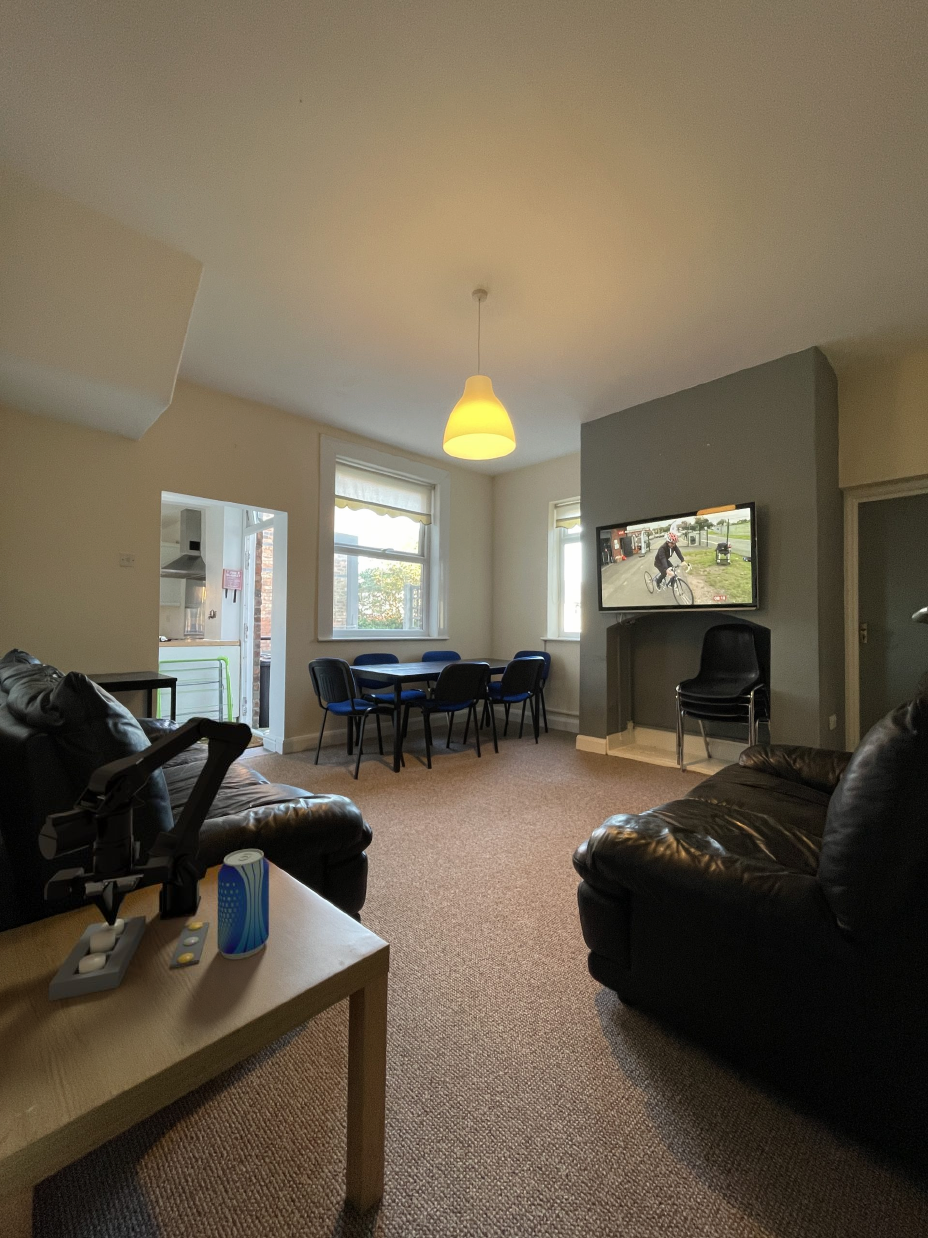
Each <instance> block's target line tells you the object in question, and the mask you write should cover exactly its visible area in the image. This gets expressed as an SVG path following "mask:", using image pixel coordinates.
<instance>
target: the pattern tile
mask: <svg viewBox="0 0 928 1238" xmlns="http://www.w3.org/2000/svg"><path fill="white" fill-rule="evenodd" d="M209 928H210V921H207V922H201V921H197V922H193V923H191V924H189V925H184V926H183V927H182V930H181V932H180V936H179V938H178V941H177V944H176V946H175V950H174V953H173V956H172V958H171V961H170V963H169V969H172V968H177V967H183V966H187V965H193V964H198V963H200V961H201V959H202V958H201V957H202V953H203V950H204V946H205V942H206V938H207V934H208V930H209Z"/></svg>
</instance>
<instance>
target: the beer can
mask: <svg viewBox="0 0 928 1238" xmlns="http://www.w3.org/2000/svg"><path fill="white" fill-rule="evenodd" d="M269 936H270V864H269V862H268V861H267V859H266V857H265V855H264V852H263V850H260V849H258V848H247V849H246V848H245V849H241V850H236V851H234V852H231V853H228V854H227V855H226V856H225V857H224V859H223V864H222V866H221V867H220V868H219V871H218V872H217V942H216V943H217V946H216V947H217V949H218V951H219V952H220V953H221V954H222V956H223V957H224V958H225V959H228V960H234V961H235V960H243V959H247V958H250V957H251V956H255V954H257V953H259V952H260V951H261V950H262V949H263V947H264V946H265V943H266V942H267V941H268V939H269Z"/></svg>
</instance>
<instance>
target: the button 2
mask: <svg viewBox="0 0 928 1238" xmlns="http://www.w3.org/2000/svg"><path fill="white" fill-rule="evenodd" d="M105 922H106V923H104V924H103V925H102V926H101V927H100V930H103V929H109V928H111V929H115V936H116V935H121V934H123V932H124V920H122V919H121V918H117V921H116V923H115V925H112V926H109V925H108V923H107V921H105Z"/></svg>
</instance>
